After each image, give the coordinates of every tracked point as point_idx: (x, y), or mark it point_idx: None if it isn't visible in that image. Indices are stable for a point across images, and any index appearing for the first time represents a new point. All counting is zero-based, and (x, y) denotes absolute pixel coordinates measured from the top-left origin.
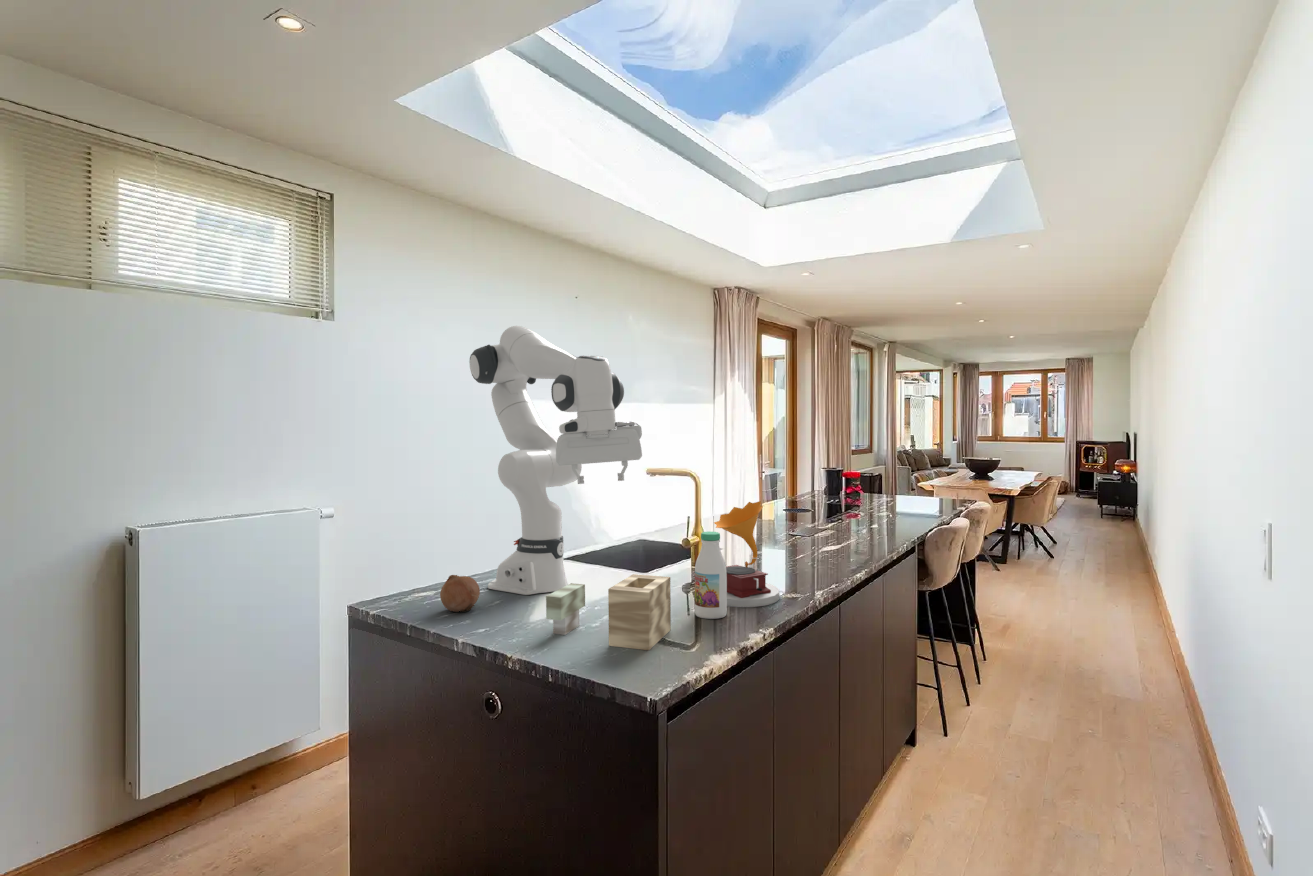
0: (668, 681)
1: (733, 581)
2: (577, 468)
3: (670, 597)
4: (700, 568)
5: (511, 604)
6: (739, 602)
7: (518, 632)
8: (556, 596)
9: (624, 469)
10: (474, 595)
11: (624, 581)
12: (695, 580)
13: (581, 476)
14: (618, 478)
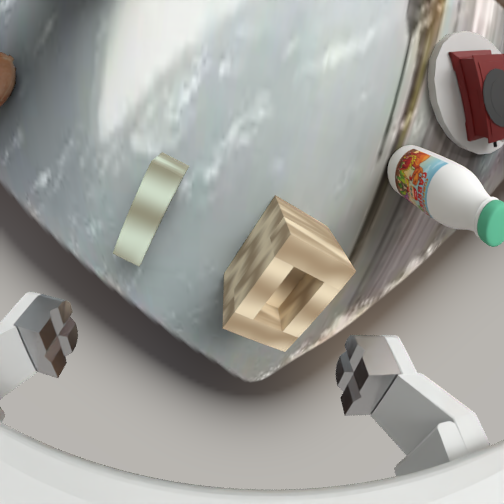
0: (272, 363)
1: (480, 117)
2: (3, 417)
3: (343, 251)
4: (434, 212)
5: (68, 38)
6: (459, 145)
7: (91, 195)
8: (130, 258)
9: (402, 435)
10: (4, 94)
11: (259, 288)
12: (417, 187)
13: (46, 373)
14: (341, 384)
